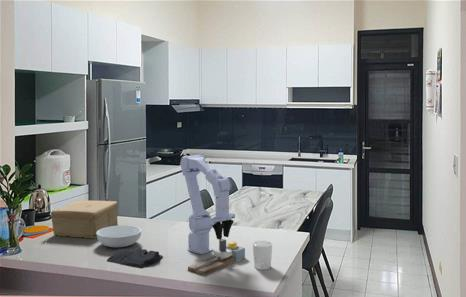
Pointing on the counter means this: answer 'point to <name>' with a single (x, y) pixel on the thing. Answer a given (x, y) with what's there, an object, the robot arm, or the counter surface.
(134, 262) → the dark grey folded cloth
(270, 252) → the white cup
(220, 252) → the carriage
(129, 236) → the serving bowl
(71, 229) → the paper package
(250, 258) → the counter surface
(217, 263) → the rail board
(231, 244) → the button
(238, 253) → the cabinet
